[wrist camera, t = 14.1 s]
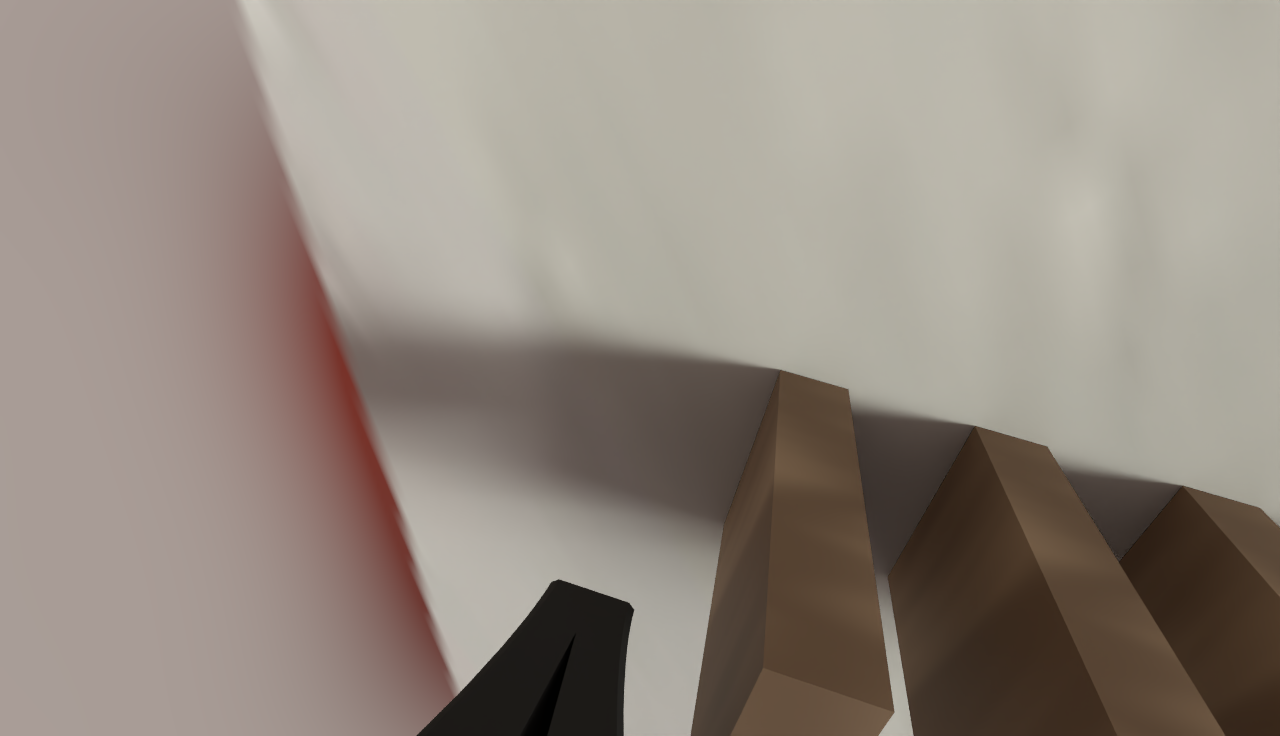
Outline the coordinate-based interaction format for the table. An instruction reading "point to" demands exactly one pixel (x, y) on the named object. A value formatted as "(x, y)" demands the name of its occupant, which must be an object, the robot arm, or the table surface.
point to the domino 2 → (1028, 612)
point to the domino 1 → (796, 584)
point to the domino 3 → (1217, 603)
